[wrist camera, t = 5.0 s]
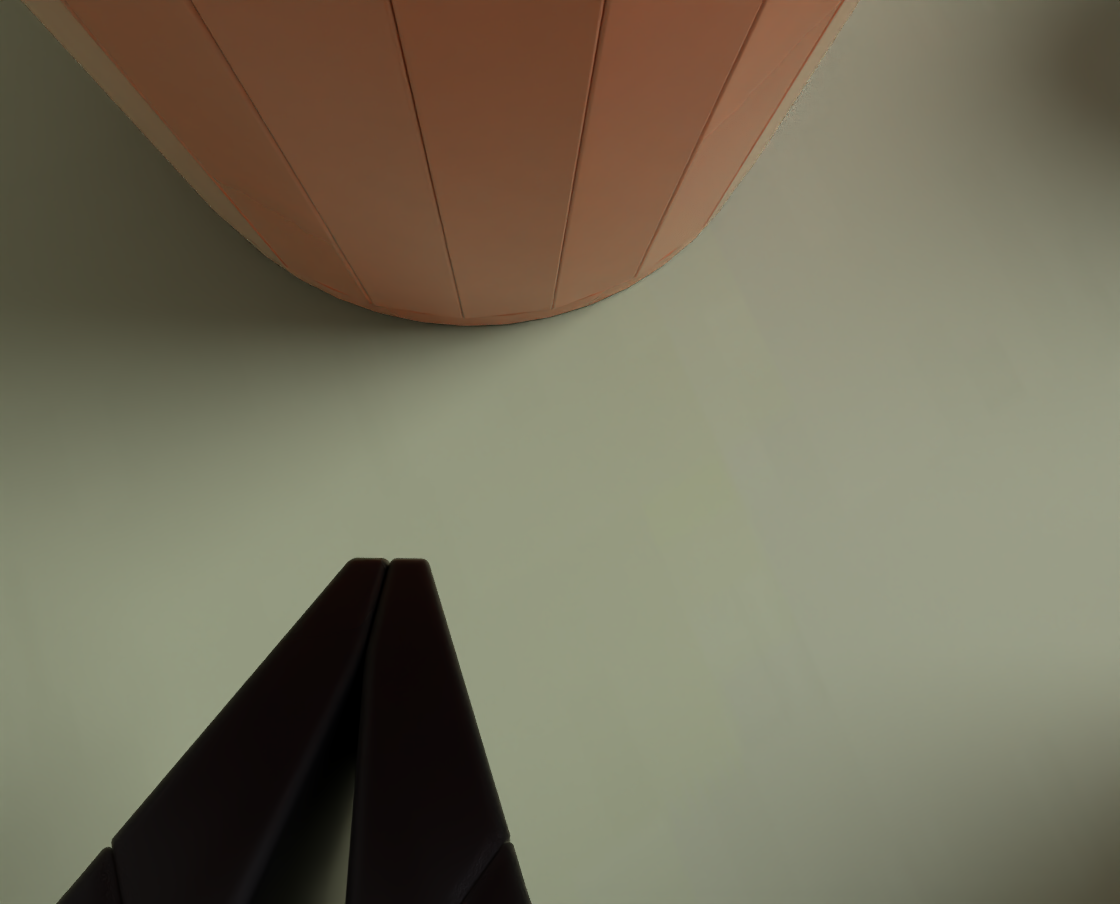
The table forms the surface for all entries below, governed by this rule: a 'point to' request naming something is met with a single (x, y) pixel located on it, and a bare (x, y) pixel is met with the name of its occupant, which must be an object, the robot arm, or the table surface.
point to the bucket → (457, 132)
